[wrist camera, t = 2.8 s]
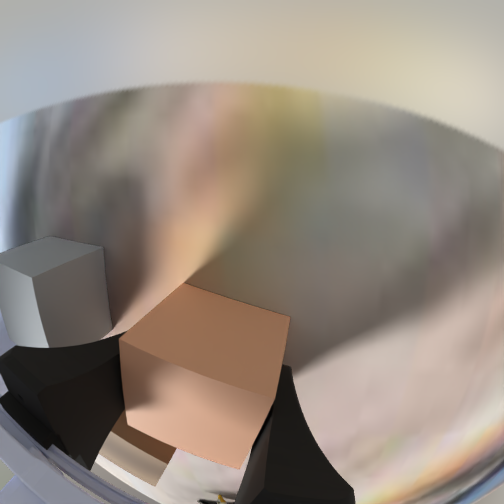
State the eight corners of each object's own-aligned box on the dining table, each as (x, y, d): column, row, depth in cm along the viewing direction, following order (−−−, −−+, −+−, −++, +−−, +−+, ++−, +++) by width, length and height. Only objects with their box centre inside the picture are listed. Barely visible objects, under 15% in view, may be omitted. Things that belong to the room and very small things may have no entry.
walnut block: (182, 435, 16) (154, 486, 11) (123, 401, 16) (87, 445, 12) (201, 401, 14) (167, 464, 10) (129, 360, 15) (82, 410, 10)
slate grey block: (113, 328, 14) (58, 374, 10) (61, 307, 15) (9, 339, 10) (104, 246, 13) (31, 277, 8) (51, 235, 14) (-12, 257, 9)
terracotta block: (261, 393, 13) (239, 469, 8) (173, 362, 14) (127, 424, 9) (290, 316, 12) (275, 398, 7) (183, 282, 12) (118, 338, 8)
